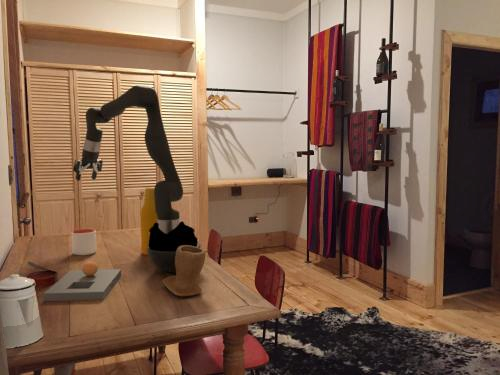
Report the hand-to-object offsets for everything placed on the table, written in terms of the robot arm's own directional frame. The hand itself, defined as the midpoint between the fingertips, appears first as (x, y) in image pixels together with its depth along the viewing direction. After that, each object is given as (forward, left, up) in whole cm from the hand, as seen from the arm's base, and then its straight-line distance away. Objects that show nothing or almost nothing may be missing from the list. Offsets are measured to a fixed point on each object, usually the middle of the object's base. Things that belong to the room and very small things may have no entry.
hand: (85, 179), depth 207 cm
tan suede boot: (-54, +75, -31) cm, 98 cm away
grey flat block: (-20, +69, -31) cm, 78 cm away
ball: (-20, +64, -26) cm, 72 cm away
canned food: (-3, +62, -32) cm, 70 cm away
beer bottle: (-35, +24, -31) cm, 53 cm away
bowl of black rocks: (-48, +53, -31) cm, 78 cm away
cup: (-5, +22, -31) cm, 39 cm away
